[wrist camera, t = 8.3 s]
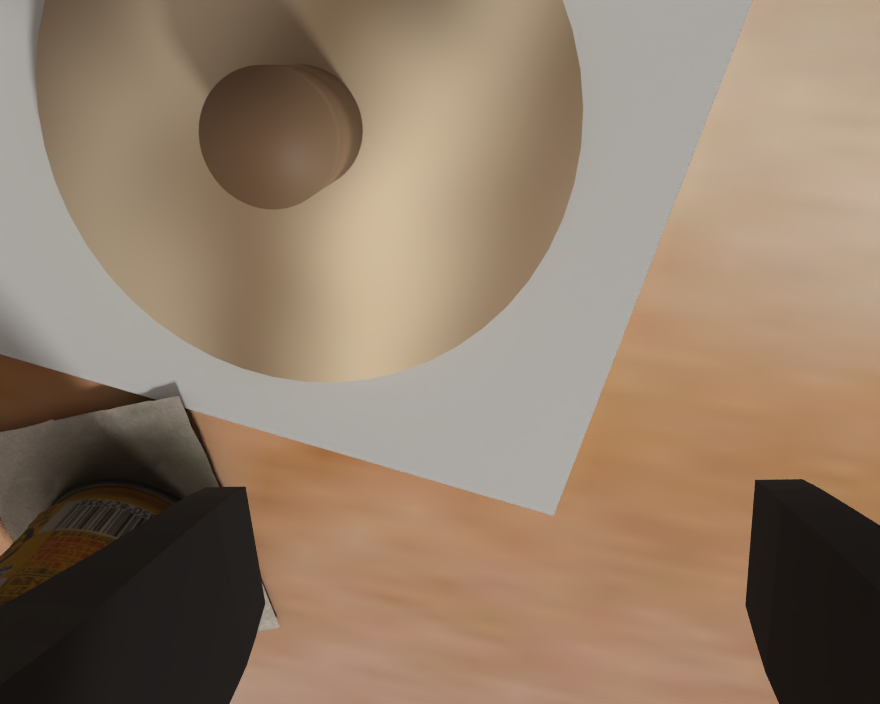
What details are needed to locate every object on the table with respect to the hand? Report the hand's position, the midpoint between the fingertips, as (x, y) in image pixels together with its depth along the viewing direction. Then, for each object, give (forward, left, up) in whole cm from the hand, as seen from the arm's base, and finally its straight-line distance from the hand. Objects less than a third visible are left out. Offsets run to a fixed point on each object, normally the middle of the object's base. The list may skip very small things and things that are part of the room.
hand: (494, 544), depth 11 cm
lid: (+6, -4, -10) cm, 12 cm away
